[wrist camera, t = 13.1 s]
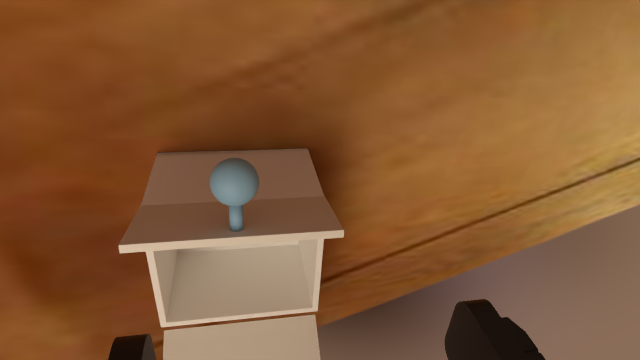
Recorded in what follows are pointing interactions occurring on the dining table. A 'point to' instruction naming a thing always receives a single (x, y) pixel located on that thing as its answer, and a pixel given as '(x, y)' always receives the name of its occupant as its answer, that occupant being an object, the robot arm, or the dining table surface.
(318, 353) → the flap open
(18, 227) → the dining table surface
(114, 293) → the dining table surface
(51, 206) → the dining table surface
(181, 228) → the flap with blue knob
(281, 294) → the carton
